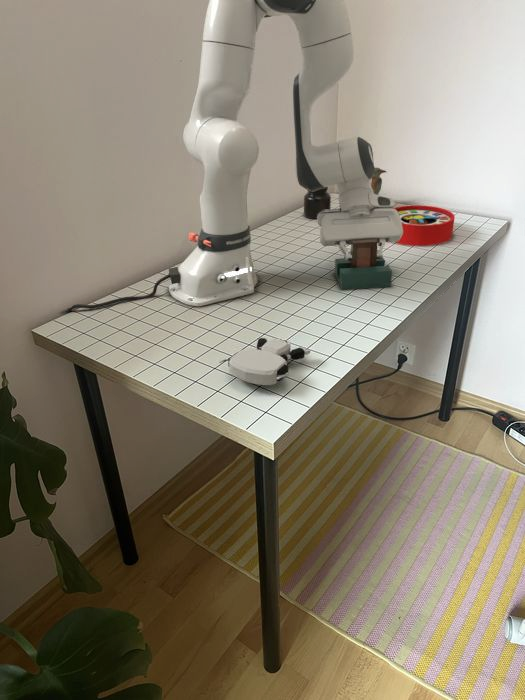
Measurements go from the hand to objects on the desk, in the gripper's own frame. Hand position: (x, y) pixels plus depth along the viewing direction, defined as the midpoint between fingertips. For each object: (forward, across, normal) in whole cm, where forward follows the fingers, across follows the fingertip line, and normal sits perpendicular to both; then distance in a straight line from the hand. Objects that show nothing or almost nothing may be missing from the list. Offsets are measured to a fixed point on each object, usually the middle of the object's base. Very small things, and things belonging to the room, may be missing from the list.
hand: (364, 258), depth 134 cm
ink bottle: (-35, -3, +44) cm, 56 cm away
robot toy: (+31, -26, -23) cm, 47 cm away
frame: (+3, 0, +4) cm, 5 cm away
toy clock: (-18, +23, +27) cm, 40 cm away
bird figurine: (-36, +15, +45) cm, 60 cm away
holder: (+4, 0, +5) cm, 6 cm away
